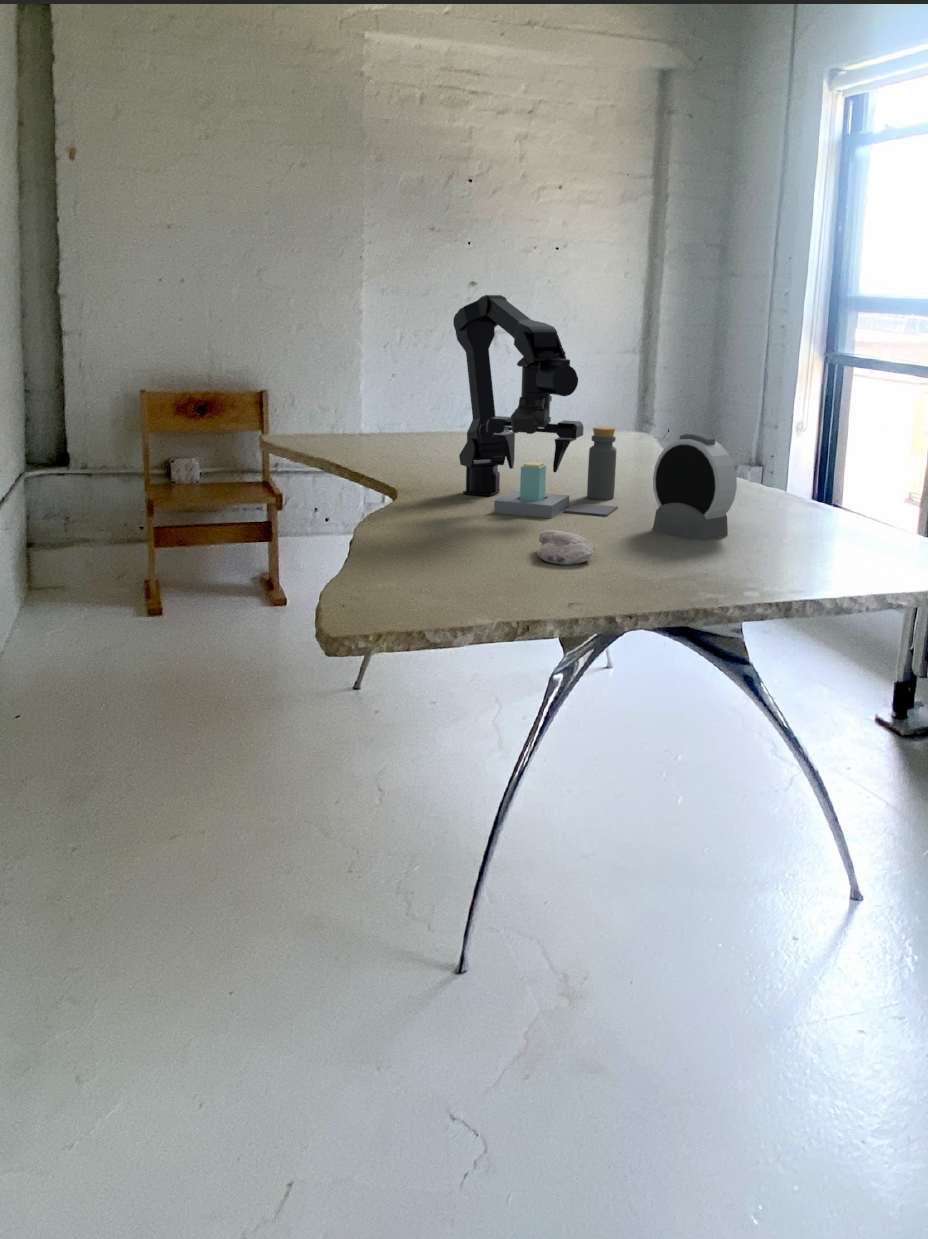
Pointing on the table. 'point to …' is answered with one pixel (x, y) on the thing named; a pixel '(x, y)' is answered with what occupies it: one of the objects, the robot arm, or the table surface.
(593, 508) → the pad
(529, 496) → the plug
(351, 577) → the table surface
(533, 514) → the grey square socket block
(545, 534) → the fossil
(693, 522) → the alarm clock
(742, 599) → the table surface
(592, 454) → the bottle
